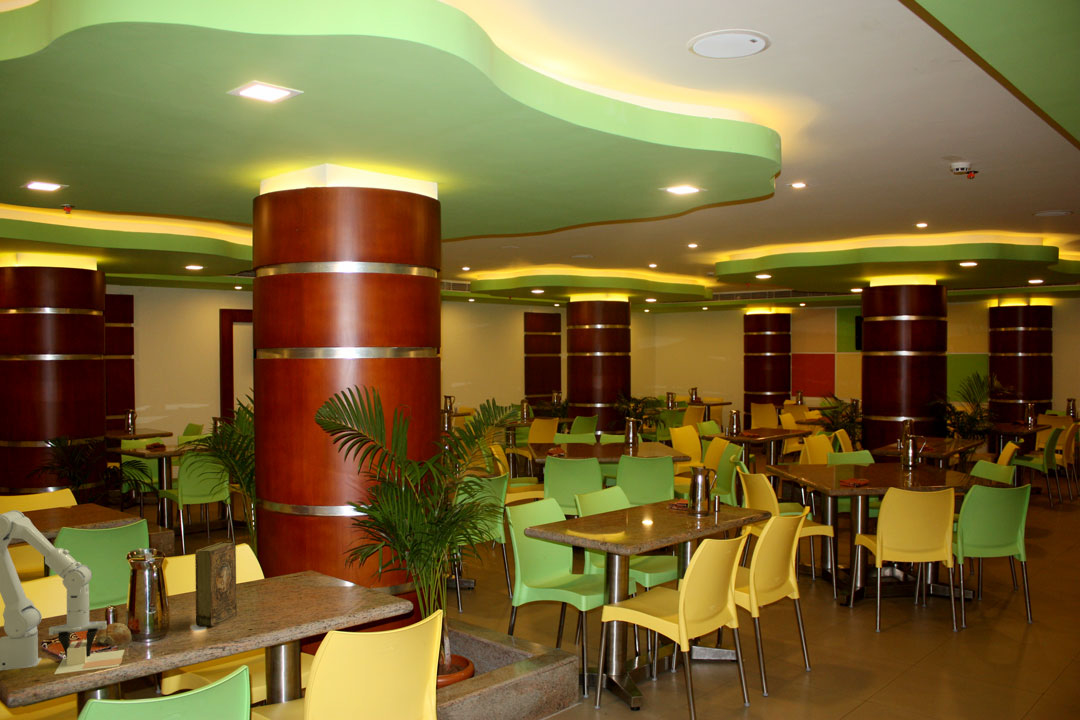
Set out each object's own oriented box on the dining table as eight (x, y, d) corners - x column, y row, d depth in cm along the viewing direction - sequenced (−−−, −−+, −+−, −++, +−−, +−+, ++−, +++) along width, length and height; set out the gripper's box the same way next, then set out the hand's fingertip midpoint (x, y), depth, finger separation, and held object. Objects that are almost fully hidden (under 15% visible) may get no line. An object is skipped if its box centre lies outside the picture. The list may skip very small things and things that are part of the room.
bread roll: (131, 655, 263) (142, 629, 266) (99, 649, 256) (111, 622, 259) (117, 649, 270) (128, 624, 272) (86, 642, 263) (98, 616, 265)
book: (224, 613, 295) (223, 541, 296) (238, 614, 294) (237, 541, 295) (196, 627, 279) (195, 550, 280) (211, 628, 278) (210, 551, 279)
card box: (67, 665, 241) (67, 649, 242) (71, 657, 249) (71, 641, 249) (85, 663, 243) (84, 647, 243) (89, 655, 251) (89, 639, 251)
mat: (54, 676, 235) (54, 673, 235) (64, 658, 250) (64, 656, 250) (120, 667, 240) (120, 665, 240) (125, 651, 255) (125, 649, 255)
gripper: (46, 615, 240) (47, 664, 240) (104, 609, 245) (104, 657, 245) (51, 609, 247) (51, 657, 246) (107, 604, 252) (107, 650, 251)
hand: (78, 656), depth 246 cm, fingers closed on card box, 4 cm apart
